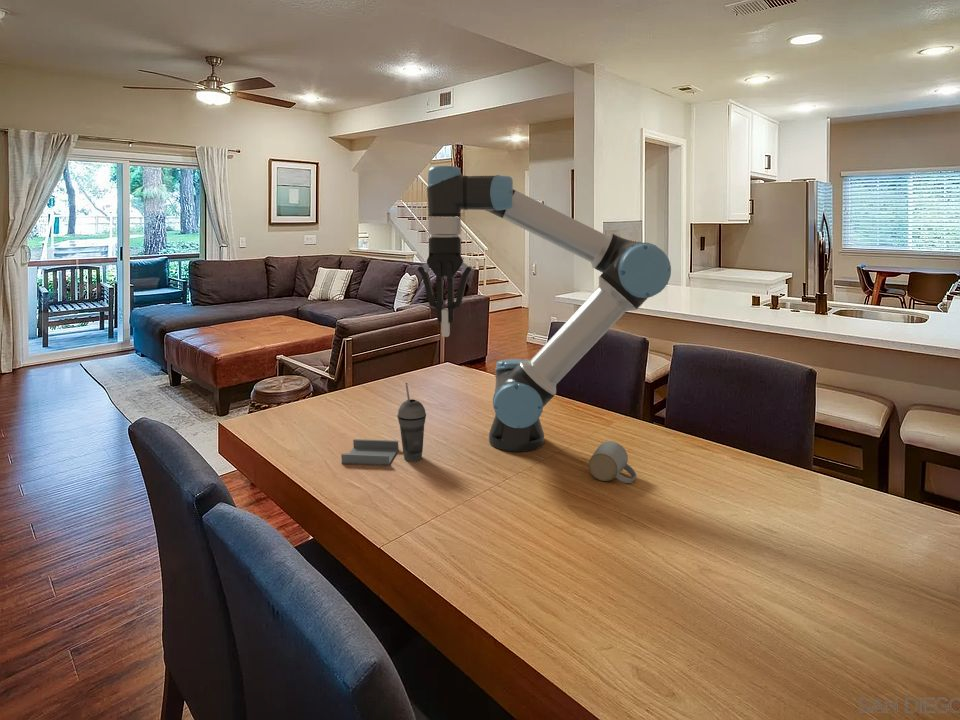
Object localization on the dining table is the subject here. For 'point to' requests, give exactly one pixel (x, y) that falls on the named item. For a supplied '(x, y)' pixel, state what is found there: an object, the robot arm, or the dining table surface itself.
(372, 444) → the cradle
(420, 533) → the dining table surface
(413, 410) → the beverage cup
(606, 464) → the ceramic mug
